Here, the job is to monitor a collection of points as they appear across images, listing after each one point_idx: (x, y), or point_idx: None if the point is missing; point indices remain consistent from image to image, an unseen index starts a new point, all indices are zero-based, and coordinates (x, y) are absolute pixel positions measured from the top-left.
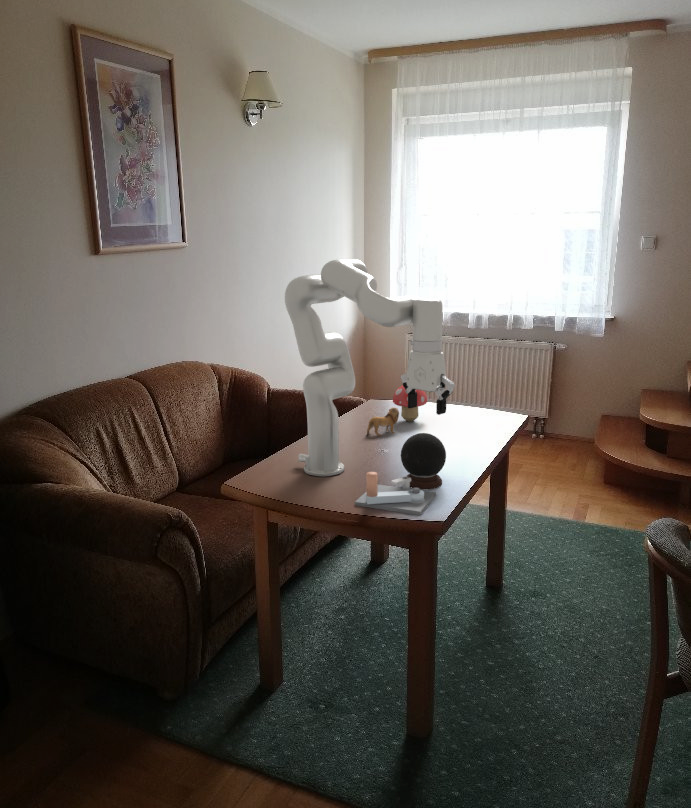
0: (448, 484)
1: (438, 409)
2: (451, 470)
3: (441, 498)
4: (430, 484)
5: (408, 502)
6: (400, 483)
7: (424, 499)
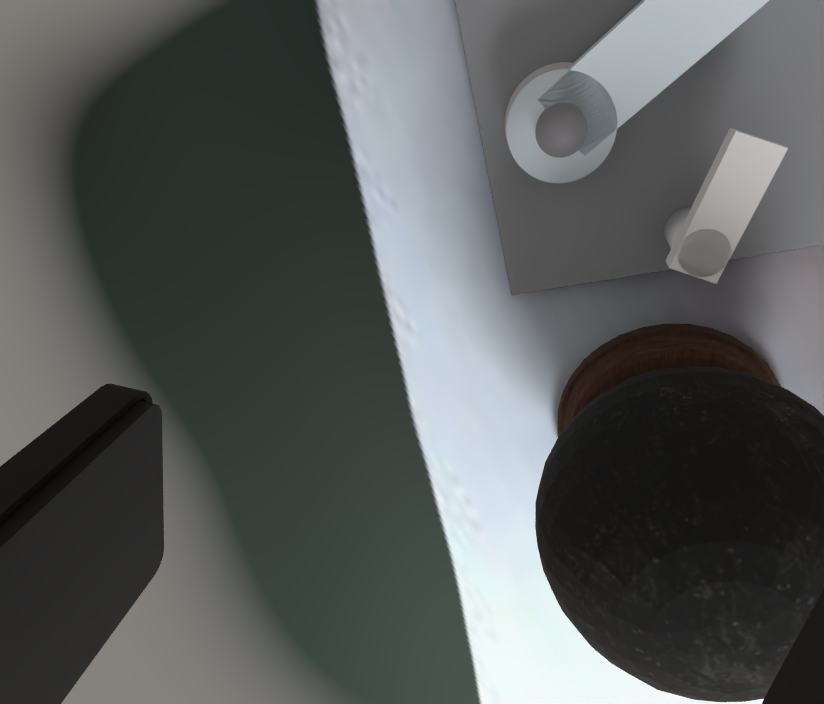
0: (530, 457)
1: (47, 432)
2: None
3: (470, 271)
4: (590, 376)
5: None
6: (711, 171)
7: None
